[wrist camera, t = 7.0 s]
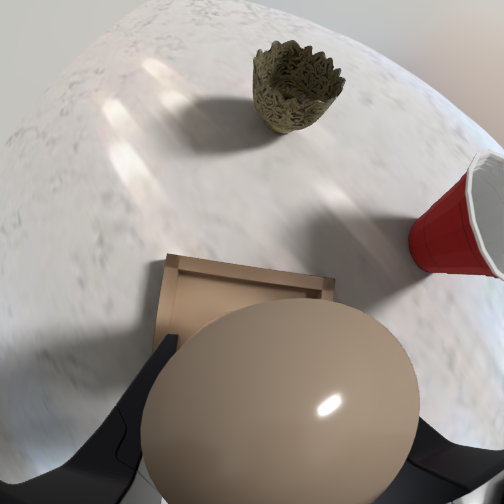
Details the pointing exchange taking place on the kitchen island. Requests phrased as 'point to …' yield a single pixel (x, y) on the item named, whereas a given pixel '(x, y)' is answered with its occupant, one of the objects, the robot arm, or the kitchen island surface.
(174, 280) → the tray
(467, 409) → the kitchen island surface
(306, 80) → the cup
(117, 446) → the robot arm
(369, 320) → the spice jar
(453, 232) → the plastic cup
